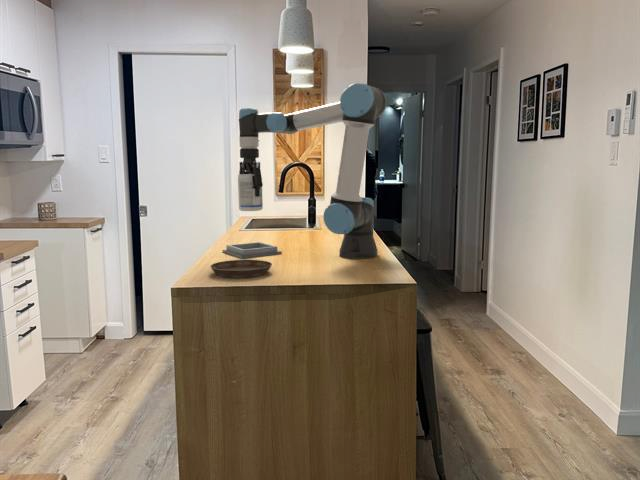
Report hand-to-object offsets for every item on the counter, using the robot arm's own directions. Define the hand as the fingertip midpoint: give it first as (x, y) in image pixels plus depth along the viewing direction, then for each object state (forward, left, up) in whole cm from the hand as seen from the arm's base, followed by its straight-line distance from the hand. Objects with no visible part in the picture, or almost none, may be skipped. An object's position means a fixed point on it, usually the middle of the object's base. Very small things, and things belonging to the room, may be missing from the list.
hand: (250, 204), depth 228 cm
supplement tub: (0, 0, -3) cm, 3 cm away
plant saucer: (-34, +21, -21) cm, 45 cm away
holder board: (0, 0, -20) cm, 20 cm away
